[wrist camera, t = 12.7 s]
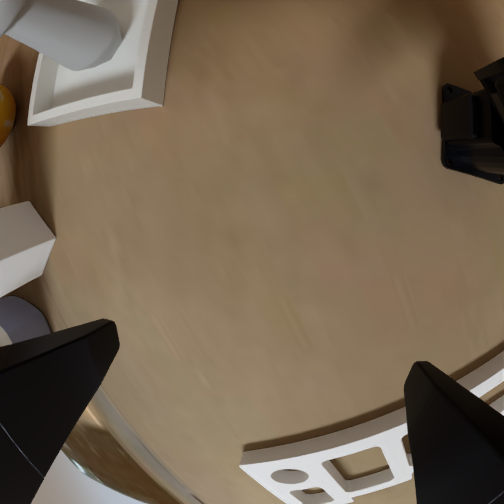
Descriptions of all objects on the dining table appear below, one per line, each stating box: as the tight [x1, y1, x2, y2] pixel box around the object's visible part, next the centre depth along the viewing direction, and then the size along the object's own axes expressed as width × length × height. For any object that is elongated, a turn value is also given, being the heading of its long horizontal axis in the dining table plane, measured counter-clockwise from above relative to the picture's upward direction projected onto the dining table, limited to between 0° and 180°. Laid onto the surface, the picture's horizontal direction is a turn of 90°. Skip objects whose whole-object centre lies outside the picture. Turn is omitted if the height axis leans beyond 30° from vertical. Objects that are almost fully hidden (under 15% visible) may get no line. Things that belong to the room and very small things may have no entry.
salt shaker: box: [0, 0, 123, 71], centre depth 10 cm, size 6×6×13 cm
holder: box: [239, 351, 504, 504], centre depth 22 cm, size 45×18×3 cm, turn 119°
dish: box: [27, 0, 178, 126], centre depth 16 cm, size 13×13×3 cm
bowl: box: [0, 296, 51, 347], centre depth 24 cm, size 15×15×11 cm
